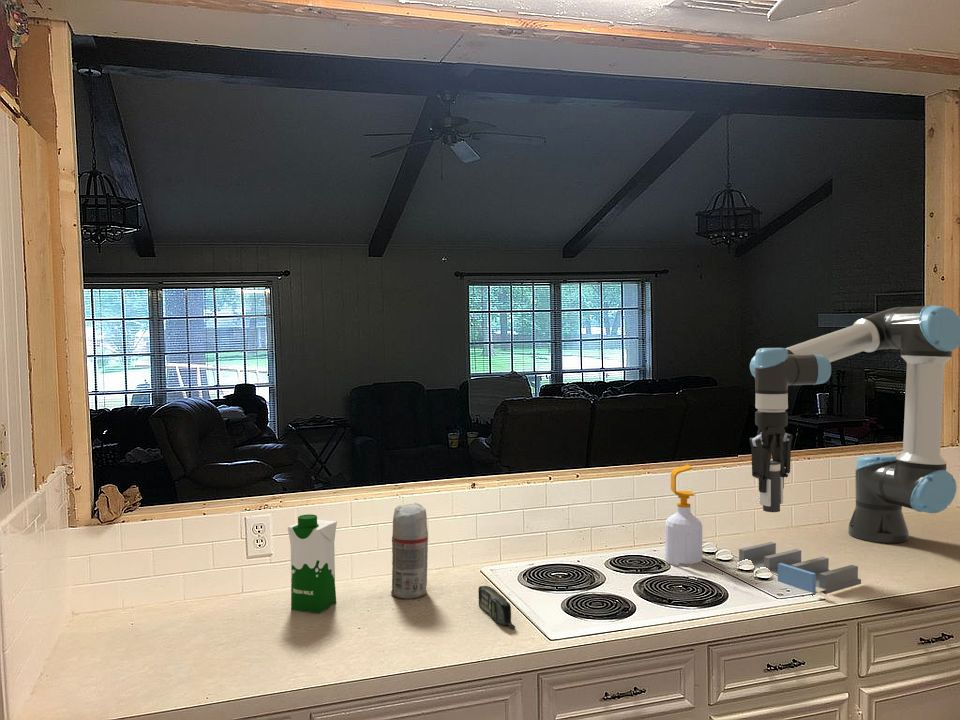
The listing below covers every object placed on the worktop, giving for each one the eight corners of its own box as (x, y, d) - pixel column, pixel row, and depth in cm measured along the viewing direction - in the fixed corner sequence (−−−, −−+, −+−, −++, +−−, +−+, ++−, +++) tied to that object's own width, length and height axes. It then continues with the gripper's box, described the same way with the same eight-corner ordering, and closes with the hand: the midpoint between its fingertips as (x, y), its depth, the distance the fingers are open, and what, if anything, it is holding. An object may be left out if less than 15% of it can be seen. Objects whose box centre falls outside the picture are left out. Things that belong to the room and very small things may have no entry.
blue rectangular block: (780, 584, 176) (781, 562, 176) (815, 595, 169) (815, 573, 169) (777, 585, 176) (777, 563, 176) (812, 596, 168) (812, 574, 168)
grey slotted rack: (770, 556, 198) (770, 541, 198) (861, 583, 176) (861, 566, 176) (736, 564, 191) (736, 548, 191) (825, 594, 170) (826, 576, 170)
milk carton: (284, 610, 162) (283, 517, 161) (307, 596, 171) (306, 508, 170) (321, 615, 159) (319, 520, 158) (342, 601, 168) (341, 510, 167)
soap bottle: (706, 567, 189) (707, 469, 188) (669, 567, 189) (669, 469, 188) (696, 556, 198) (697, 462, 197) (661, 556, 198) (661, 462, 197)
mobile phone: (475, 584, 164) (504, 606, 150) (488, 582, 165) (518, 604, 151) (476, 607, 164) (504, 631, 150) (489, 605, 165) (518, 629, 152)
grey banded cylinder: (769, 507, 193) (769, 460, 192) (784, 510, 189) (784, 462, 189) (758, 509, 191) (758, 462, 190) (772, 513, 187) (772, 464, 186)
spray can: (435, 590, 174) (434, 503, 173) (417, 602, 167) (416, 511, 166) (403, 585, 178) (402, 500, 177) (384, 596, 170) (383, 507, 169)
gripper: (780, 406, 196) (781, 496, 197) (735, 411, 188) (735, 505, 189) (806, 409, 190) (806, 502, 191) (760, 414, 181) (760, 511, 182)
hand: (771, 503), depth 190 cm, fingers closed on grey banded cylinder, 4 cm apart
